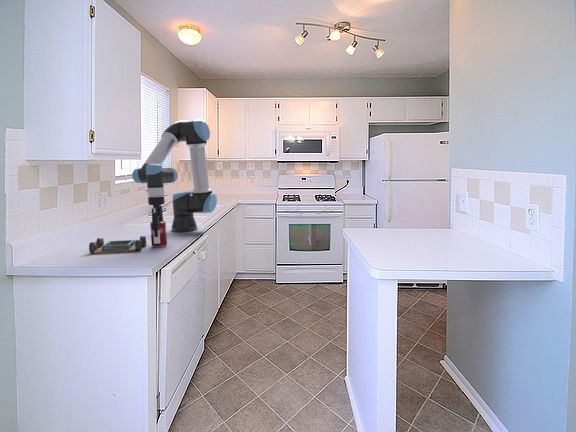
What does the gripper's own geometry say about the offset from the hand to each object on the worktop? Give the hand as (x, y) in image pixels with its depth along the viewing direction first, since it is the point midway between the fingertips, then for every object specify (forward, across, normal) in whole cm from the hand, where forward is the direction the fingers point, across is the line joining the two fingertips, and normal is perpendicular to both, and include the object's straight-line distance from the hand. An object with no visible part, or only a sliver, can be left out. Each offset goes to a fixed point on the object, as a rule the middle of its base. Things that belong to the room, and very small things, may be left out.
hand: (159, 241), depth 193 cm
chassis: (+3, +3, -18) cm, 18 cm away
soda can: (+3, 0, 0) cm, 3 cm away
